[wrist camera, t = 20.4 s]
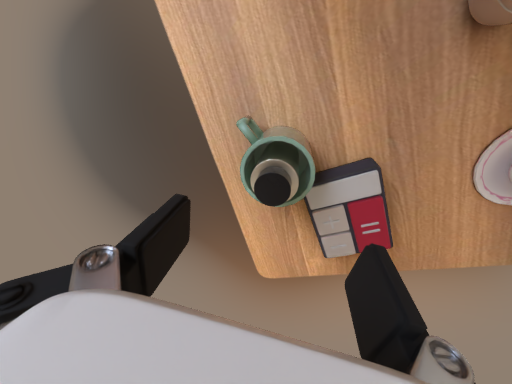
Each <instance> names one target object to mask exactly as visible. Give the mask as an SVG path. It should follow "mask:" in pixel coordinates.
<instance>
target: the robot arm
mask: <svg viewBox="0 0 512 384" xmlns="http://www.w3.org/2000/svg"><path fill="white" fill-rule="evenodd" d="M189 231H190V200H189V199H188V197H187V196H184V195H180V194H175V195H174V196H173V197H172V198H170V199H169V200H168V201H167V202H166V203H165V204H164V205H163V206H162V207H160V208H159V209H158V210H157V211H156V212H155V213H153V214H151V215H150V216H149V217H148V218H147V219H145V220H144V221H143V222H142V223H141V224H140V225H139V226H138V227H136V228H135V229H134V230H133V231H132V232H131V233H130V234H129V235H127V236H126V237H125V238H124V239H123V240H122V241H121V242H120V243H118V244H117V245H116V246H115V247H114V246H112V245H105V244H104V245H97V246H94V247H91V248H88V249H86V250H84V251H83V252H81V253H80V254H79V255H78V256H77V257H76V258H75V261H74V263H73V264H70V265H66V266H63V267H59V268H55V269H51V270H48V271H44V272H41V273H37V274H32V275H29V276H25V277H21V278H18V279H14V280H11V281H7V282H5V283H2V284H0V384H475V383H474V373H473V370H472V368H471V366H470V364H469V363H468V361H467V360H466V358H465V357H464V356H463V355H462V354H461V353H460V352H459V351H458V350H457V349H456V348H455V347H454V346H453V345H451V344H450V343H448V342H447V341H445V340H444V339H441V338H439V337H437V336H429V334H428V332H427V330H426V329H427V326H426V324H425V322H424V321H423V319H422V317H421V315H420V313H419V311H418V309H417V307H416V305H415V304H414V302H413V300H412V298H411V296H410V294H409V292H408V290H407V288H406V286H405V284H404V283H403V281H402V279H401V277H400V275H399V273H398V271H397V269H396V267H395V265H394V264H393V262H392V260H391V258H390V256H389V254H388V252H387V250H386V248H385V247H384V246H381V245H377V244H373V243H371V244H369V245H366V246H365V247H364V249H363V251H362V252H361V254H360V256H359V258H358V259H357V261H356V263H355V265H354V266H353V268H352V270H351V271H350V273H349V275H348V277H347V278H346V280H345V290H346V294H347V298H348V303H349V307H350V312H351V316H352V321H353V325H354V329H355V334H356V338H357V343H358V347H359V351H360V355H361V358H362V359H360V358H357V357H353V356H350V355H347V354H344V353H341V352H337V351H334V350H331V349H327V348H324V347H321V346H317V345H314V344H311V343H307V342H304V341H301V340H297V339H294V338H290V337H287V336H284V335H281V334H277V333H274V332H270V331H267V330H263V329H260V328H257V327H253V326H250V325H246V324H243V323H240V322H236V321H233V320H230V319H226V318H223V317H219V316H216V315H212V314H209V313H205V312H202V311H198V310H195V309H192V308H188V307H184V306H181V305H177V304H174V303H170V302H167V301H163V300H159V299H155V298H151V297H150V296H151V295H152V294H153V293H154V291H155V290H156V288H157V287H158V285H159V284H160V282H161V281H162V280H163V278H164V277H165V275H166V274H167V272H168V271H169V269H170V268H171V267H172V265H173V264H174V262H175V261H176V259H177V258H178V256H179V255H180V254H181V252H182V251H183V249H184V248H185V246H186V245H187V243H188V241H189Z"/></svg>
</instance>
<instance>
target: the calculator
mask: <svg viewBox="0 0 512 384" xmlns="http://www.w3.org/2000/svg"><path fill="white" fill-rule="evenodd" d="M304 200H305V203H306V205H307V208H308V211H309V214H310V217H311V220H312V223H313V226H314V228H315V231H316V234H317V237H318V240H319V243H320V246H321V249H322V252H323V254H324V257H325V258H333V257H340V256H346V255H352V254H355V253H361V252H362V251H363V249H364V247H365V246H366V245H369V244H371V243H373V244H377V245H381V246H384V247H385V248H386V249H389V248H392V247H393V241H392V235H391V229H390V222H389V216H388V210H387V204H386V198H385V192H384V185H383V179H382V173H381V168H380V166H379V165H378V164H377V163H376V162H375V161H374V160H373V159H372V158H367V159H363V160H360V161H356V162H353V163H350V164H346V165H343V166H339V167H336V168H332V169H329V170H325V171H322V172H318V173H315V181H314V183H313V185H312V188H311V190H310V191H309V192H308V194H307V195H306V196H305V197H304Z"/></svg>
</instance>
